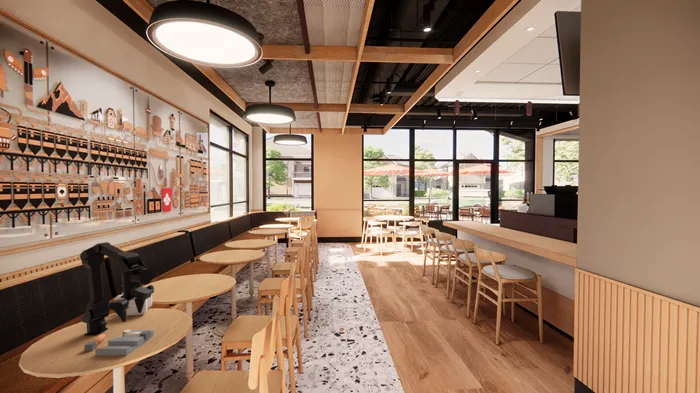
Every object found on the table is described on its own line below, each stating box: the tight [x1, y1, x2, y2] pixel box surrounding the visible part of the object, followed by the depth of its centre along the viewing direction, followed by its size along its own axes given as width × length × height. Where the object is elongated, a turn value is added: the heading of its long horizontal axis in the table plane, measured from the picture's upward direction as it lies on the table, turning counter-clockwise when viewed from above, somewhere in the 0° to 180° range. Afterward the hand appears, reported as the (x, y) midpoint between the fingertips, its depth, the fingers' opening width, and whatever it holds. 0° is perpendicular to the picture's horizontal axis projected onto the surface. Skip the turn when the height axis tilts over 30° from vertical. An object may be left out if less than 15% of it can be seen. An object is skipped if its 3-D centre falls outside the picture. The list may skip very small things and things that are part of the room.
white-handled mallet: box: [124, 329, 152, 341], centre depth 135 cm, size 10×3×3 cm, turn 88°
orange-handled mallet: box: [83, 333, 107, 352], centre depth 132 cm, size 10×3×3 cm, turn 13°
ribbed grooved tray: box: [94, 329, 154, 357], centre depth 131 cm, size 13×16×3 cm
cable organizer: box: [113, 292, 153, 317], centre depth 166 cm, size 15×11×12 cm
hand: (132, 317), depth 135 cm, fingers open, 9 cm apart
